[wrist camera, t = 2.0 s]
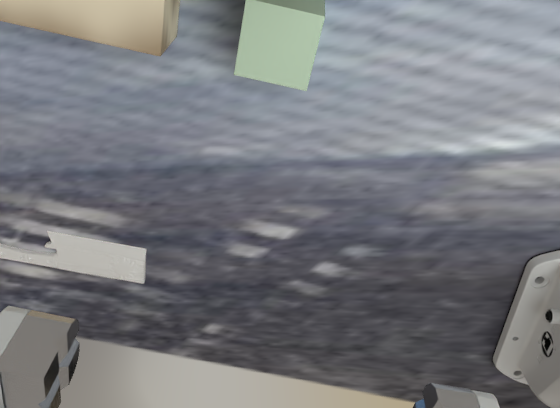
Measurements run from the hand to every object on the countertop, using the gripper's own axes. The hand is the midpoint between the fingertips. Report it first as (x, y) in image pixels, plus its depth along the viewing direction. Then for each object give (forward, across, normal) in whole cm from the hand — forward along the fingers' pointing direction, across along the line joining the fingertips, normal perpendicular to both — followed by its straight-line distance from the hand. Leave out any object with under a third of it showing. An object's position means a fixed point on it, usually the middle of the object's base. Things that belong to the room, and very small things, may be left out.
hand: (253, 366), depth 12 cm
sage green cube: (+30, +1, +1) cm, 31 cm away
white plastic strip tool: (+31, +16, +27) cm, 44 cm away
